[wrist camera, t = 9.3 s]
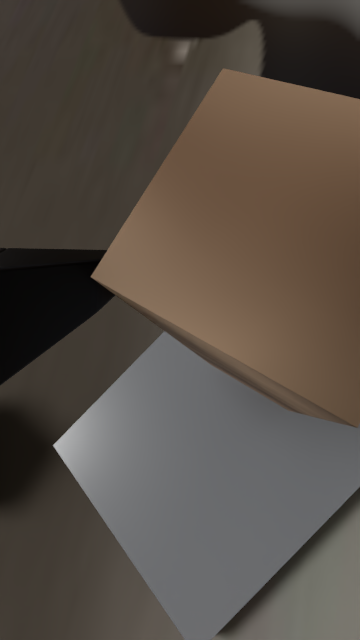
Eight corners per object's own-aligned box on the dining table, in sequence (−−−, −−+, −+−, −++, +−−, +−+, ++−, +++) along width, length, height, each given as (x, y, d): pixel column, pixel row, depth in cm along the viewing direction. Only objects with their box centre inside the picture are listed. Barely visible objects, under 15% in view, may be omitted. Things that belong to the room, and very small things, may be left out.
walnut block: (288, 410, 16) (357, 428, 4) (211, 365, 18) (90, 277, 6) (331, 333, 17) (512, 133, 4) (252, 295, 18) (222, 68, 6)
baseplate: (201, 633, 16) (195, 655, 15) (67, 442, 20) (53, 445, 19) (427, 401, 16) (443, 401, 15) (247, 258, 20) (246, 247, 19)
